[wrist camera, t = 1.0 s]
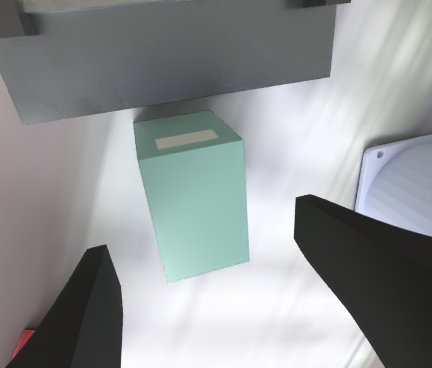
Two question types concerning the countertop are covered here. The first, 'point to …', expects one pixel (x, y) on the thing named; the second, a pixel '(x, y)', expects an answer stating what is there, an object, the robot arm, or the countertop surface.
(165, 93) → the rail plate
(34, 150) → the countertop surface
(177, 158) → the block
